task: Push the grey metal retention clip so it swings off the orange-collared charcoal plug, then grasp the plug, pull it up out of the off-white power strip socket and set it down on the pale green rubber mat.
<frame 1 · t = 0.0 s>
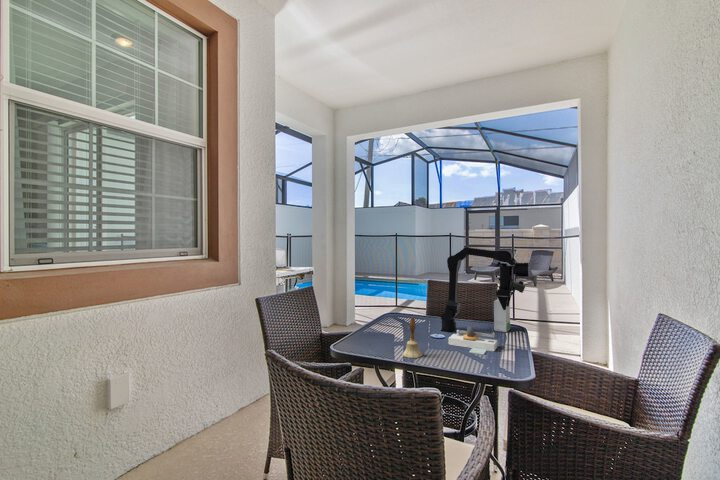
hand: (506, 308, 170), 15 cm above the table, tool pointing down, fingers open, 9 cm apart
clip: (475, 332, 161), point 6 cm above the table, hinge at 0.0°
power strip: (470, 345, 160), on the table
mat: (477, 351, 151), on the table
plug: (470, 345, 160), resting in power strip
skincare box: (501, 330, 185), on the table
hand bell: (412, 355, 148), on the table
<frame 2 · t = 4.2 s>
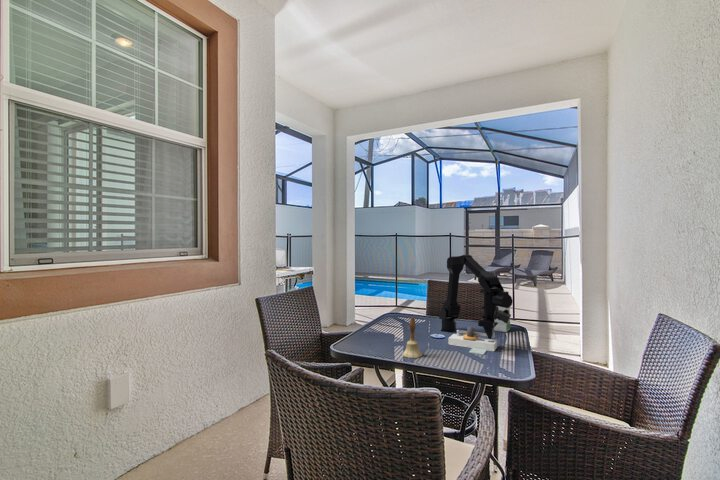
hand: (489, 338, 156), 4 cm above the table, tool pointing down, fingers closed
clip: (475, 332, 162), point 6 cm above the table, hinge at 0.8°, touching gripper
everything else where it was.
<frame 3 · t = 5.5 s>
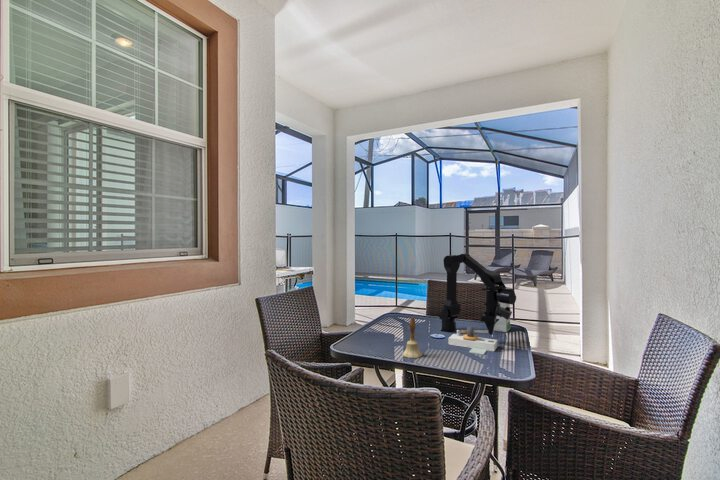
hand: (490, 334, 162), 4 cm above the table, tool pointing down, fingers closed
clip: (475, 330, 165), point 6 cm above the table, hinge at 25.5°, touching gripper
everything else where it was.
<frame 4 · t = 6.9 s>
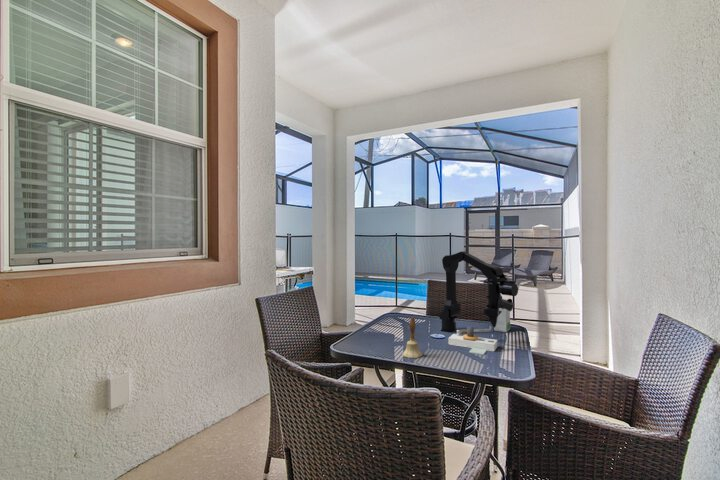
hand: (494, 326, 163), 7 cm above the table, tool pointing down, fingers closed
clip: (474, 329, 166), point 6 cm above the table, hinge at 36.9°
everything else where it was.
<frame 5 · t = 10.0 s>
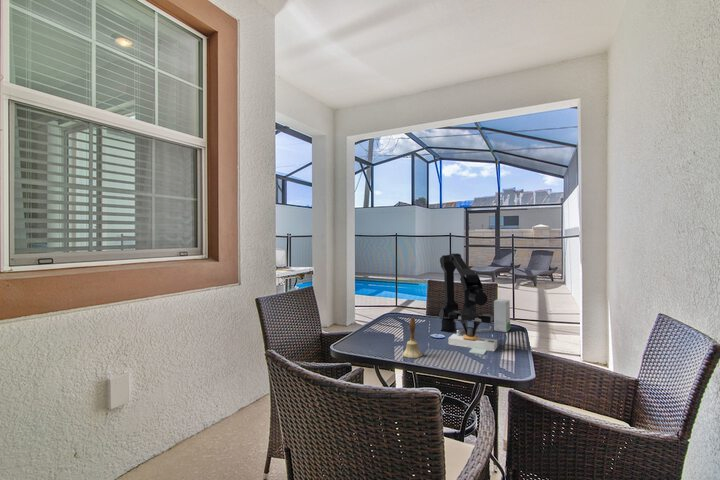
hand: (470, 335, 160), 5 cm above the table, tool pointing down, fingers closed on plug, 3 cm apart
plug: (470, 345, 160), resting in power strip, touching gripper
everything else where it was.
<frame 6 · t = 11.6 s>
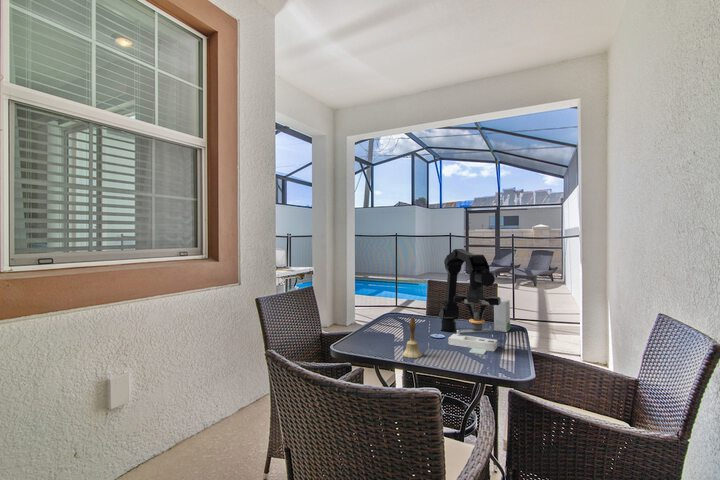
hand: (477, 319, 152), 14 cm above the table, tool pointing down, fingers closed on plug, 3 cm apart
plug: (477, 329, 152), point 9 cm above the table, touching gripper
everything else where it was.
when the fingers open (6 cm above the table, at t = 13.3 s): plug stays where it is, resting on mat.
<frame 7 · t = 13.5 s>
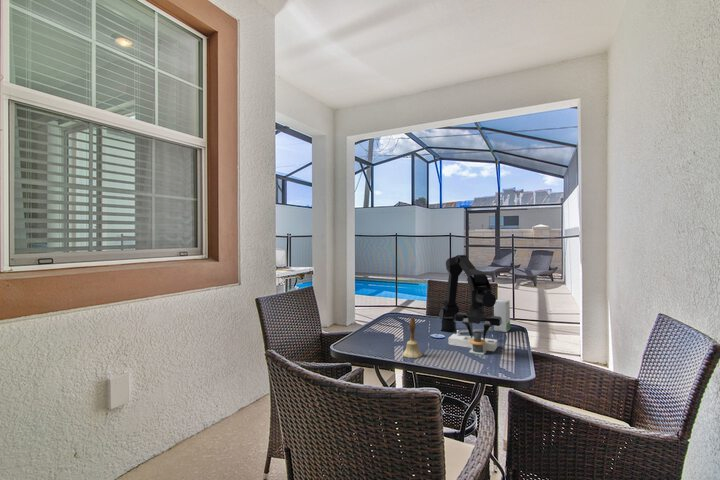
hand: (477, 338, 151), 6 cm above the table, tool pointing down, fingers open, 5 cm apart
plug: (477, 350, 151), resting on mat
everything else where it was.
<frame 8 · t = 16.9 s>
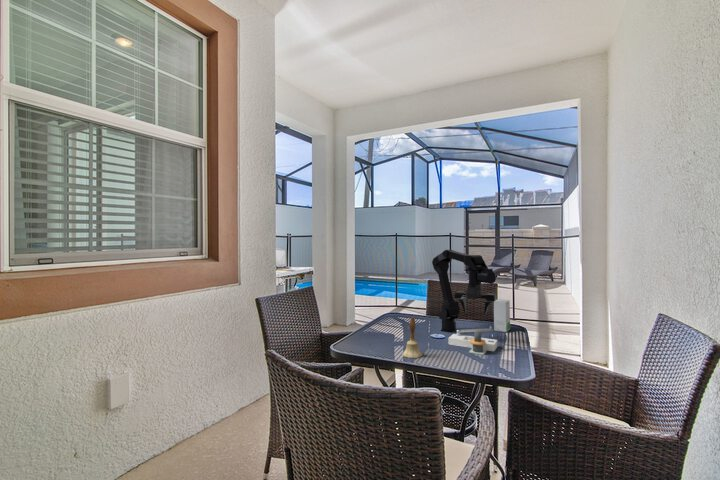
hand: (475, 313, 168), 13 cm above the table, tool pointing down, fingers open, 9 cm apart
nothing on the table moved.
at the end: clip at +37° (first picture: +0°); plug inside the target area on the mat (0.0 cm from its centre), point 0.4 cm above the mat's base; plug tilted 0° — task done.
